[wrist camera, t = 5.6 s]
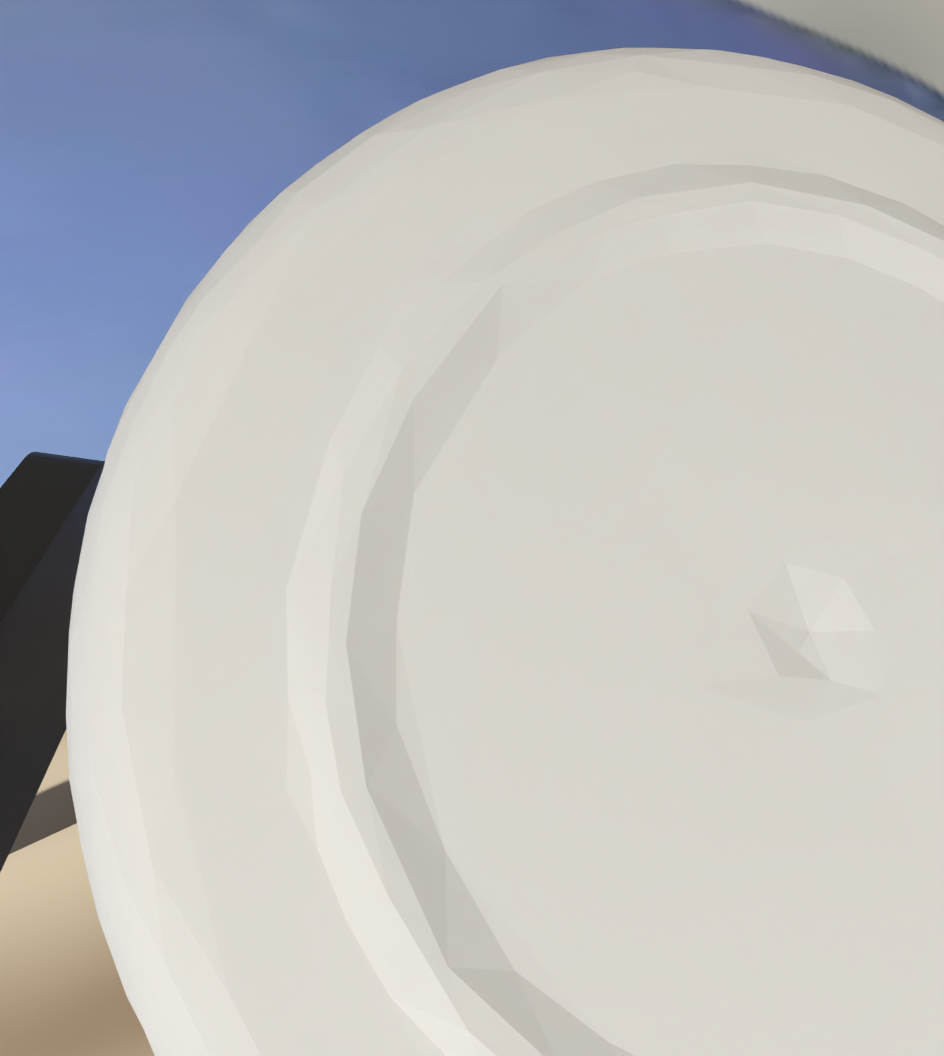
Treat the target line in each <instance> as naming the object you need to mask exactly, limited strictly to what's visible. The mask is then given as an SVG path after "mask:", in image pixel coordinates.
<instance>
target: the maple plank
mask: <svg viewBox="0 0 944 1056" xmlns="http://www.w3.org/2000/svg"><path fill="white" fill-rule="evenodd" d="M0 1056H155V1055H154V1053H153V1051H152V1048H151V1046H150V1044H149V1041H148V1039H147V1036H146V1034H145V1032H144V1029H143V1027H142V1025H141V1023H140V1021H139V1019H138V1017H137V1016H136V1014H135V1012H134V1010H133V1008H132V1006H131V1004H130V1002H129V1000H128V998H127V996H126V993H125V991H124V988H123V985H122V982H121V979H120V977H119V974H118V971H117V968H116V966H115V963H114V960H113V957H112V955H111V952H110V949H109V946H108V944H107V941H106V938H105V935H104V933H103V930H102V927H101V924H100V922H99V919H98V915H97V911H96V907H95V903H94V899H93V894H92V890H91V886H90V882H89V878H88V873H87V869H86V865H85V861H84V857H83V852H82V848H81V843H80V837H79V831H78V826H77V820H76V815H75V809H74V803H73V798H72V792H71V787H70V781H69V769H68V748H67V730H66V731H65V733H64V735H63V737H62V739H61V741H60V744H59V746H58V748H57V750H56V752H55V755H54V757H53V759H52V761H51V763H50V765H49V768H48V770H47V772H46V774H45V776H44V778H43V781H42V783H41V785H40V787H39V789H38V792H37V794H36V796H35V798H34V800H33V802H32V805H31V807H30V809H29V811H28V813H27V816H26V818H25V820H24V822H23V824H22V826H21V829H20V831H19V833H18V835H17V837H16V840H15V842H14V844H13V846H12V848H11V850H10V853H9V855H8V857H7V859H6V861H5V864H4V866H3V868H2V870H1V872H0Z"/></svg>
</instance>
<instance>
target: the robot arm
mask: <svg viewBox="0 0 944 1056" xmlns="http://www.w3.org/2000/svg"><path fill="white" fill-rule="evenodd" d="M104 464H105V461H98V460H91V459H84V458H76V457H69V456H62V455H55V454H47V453H40V452H32V453H30V454H29V455H27V456H26V457H25V458H24V459H23V461H22V462H21V463H20V464H19V466H18V467H17V468H16V469H15V471H14V472H13V473H12V474H11V476H10V477H9V478H8V479H7V481H6V482H5V483H4V484H3V486H2V487H1V488H0V872H1V870H2V868H3V866H4V864H5V861H6V859H7V857H8V855H9V853H10V850H11V848H12V846H13V844H14V842H15V840H16V837H17V835H18V833H19V831H20V829H21V826H22V824H23V822H24V820H25V818H26V816H27V813H28V811H29V809H30V807H31V805H32V802H33V800H34V798H35V796H36V794H37V792H38V789H39V787H40V785H41V783H42V781H43V778H44V776H45V774H46V772H47V770H48V768H49V765H50V763H51V761H52V759H53V757H54V755H55V752H56V750H57V748H58V746H59V744H60V741H61V739H62V737H63V735H64V733H65V731H66V697H67V670H68V644H69V627H70V618H71V609H72V600H73V590H74V585H75V579H76V574H77V569H78V564H79V558H80V553H81V548H82V543H83V537H84V532H85V527H86V522H87V516H88V512H89V509H90V506H91V504H92V501H93V498H94V495H95V492H96V489H97V486H98V483H99V480H100V477H101V474H102V471H103V468H104Z"/></svg>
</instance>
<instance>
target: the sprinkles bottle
mask: <svg viewBox="0 0 944 1056" xmlns="http://www.w3.org/2000/svg"><path fill="white" fill-rule="evenodd" d="M66 728H67V748H68V769H69V781H70V787H71V792H72V798H73V803H74V809H75V815H76V820H77V826H78V831H79V837H80V843H81V848H82V852H83V857H84V861H85V865H86V869H87V873H88V878H89V882H90V886H91V890H92V894H93V899H94V903H95V907H96V911H97V915H98V919H99V922H100V924H101V927H102V930H103V933H104V935H105V938H106V941H107V944H108V946H109V949H110V952H111V955H112V957H113V960H114V963H115V966H116V968H117V971H118V974H119V977H120V979H121V982H122V985H123V988H124V991H125V993H126V996H127V998H128V1000H129V1002H130V1004H131V1006H132V1008H133V1010H134V1012H135V1014H136V1016H137V1017H138V1019H139V1021H140V1023H141V1025H142V1027H143V1029H144V1032H145V1034H146V1036H147V1039H148V1041H149V1044H150V1046H151V1048H152V1051H153V1053H154V1055H155V1056H944V122H943V121H941V120H939V119H937V118H935V117H933V116H931V115H929V114H927V113H925V112H923V111H921V110H919V109H917V108H915V107H913V106H911V105H909V104H907V103H905V102H903V101H901V100H900V99H898V98H896V97H893V96H891V95H888V94H886V93H883V92H880V91H878V90H875V89H873V88H870V87H868V86H865V85H863V84H860V83H858V82H855V81H852V80H849V79H845V78H842V77H839V76H835V75H832V74H828V73H825V72H821V71H818V70H814V69H811V68H807V67H804V66H800V65H795V64H791V63H787V62H782V61H778V60H773V59H769V58H765V57H759V56H753V55H746V54H740V53H734V52H728V51H722V50H705V49H678V48H617V49H608V50H599V51H592V52H584V53H577V54H570V55H562V56H555V57H548V58H544V59H540V60H536V61H532V62H528V63H524V64H520V65H516V66H512V67H508V68H504V69H500V70H497V71H495V72H492V73H489V74H486V75H483V76H480V77H478V78H475V79H472V80H469V81H467V82H464V83H461V84H459V85H456V86H453V87H451V88H448V89H445V90H443V91H440V92H438V93H436V94H433V95H431V96H428V97H426V98H424V99H421V100H419V101H417V102H415V103H413V104H411V105H409V106H407V107H405V108H404V109H402V110H400V111H398V112H396V113H394V114H392V115H390V116H389V117H387V118H385V119H384V120H382V121H380V122H379V123H377V124H375V125H374V126H372V127H370V128H369V129H367V130H365V131H364V132H362V133H360V134H359V135H358V136H356V137H355V138H353V139H352V140H350V141H349V142H348V143H346V144H345V145H343V146H342V147H340V148H339V149H337V150H336V151H335V152H333V153H332V154H330V155H329V156H327V157H326V158H324V159H323V160H322V161H320V162H319V163H317V164H316V165H314V166H313V167H312V168H311V169H309V170H308V171H307V172H306V173H304V174H303V175H302V176H301V177H299V178H298V179H297V180H296V181H295V182H293V183H292V184H291V185H290V186H288V187H287V188H286V189H285V190H283V191H282V192H281V193H280V194H279V195H278V196H277V197H276V198H275V199H274V200H273V201H272V202H270V203H269V204H268V205H267V206H266V207H265V208H264V209H263V210H262V211H261V212H260V213H259V214H258V215H257V216H256V217H255V218H254V219H253V220H252V221H251V222H250V223H249V224H248V225H247V226H246V227H245V228H244V230H243V231H242V232H241V233H240V234H239V235H238V236H237V238H236V239H235V240H234V241H233V242H232V243H231V245H230V246H229V247H228V248H227V249H226V250H225V252H224V253H223V254H222V255H221V257H220V258H219V259H218V260H217V262H216V263H215V264H214V265H213V267H212V268H211V269H210V270H209V272H208V273H207V274H206V275H205V277H204V278H203V279H202V280H201V282H200V283H199V284H198V285H197V287H196V288H195V289H194V290H193V292H192V293H191V294H190V295H189V297H188V298H187V300H186V301H185V303H184V305H183V307H182V308H181V310H180V312H179V313H178V315H177V317H176V319H175V320H174V322H173V324H172V326H171V327H170V329H169V331H168V333H167V334H166V336H165V338H164V339H163V341H162V343H161V345H160V346H159V348H158V350H157V352H156V353H155V355H154V357H153V358H152V360H151V362H150V364H149V365H148V367H147V369H146V371H145V372H144V374H143V376H142V378H141V379H140V381H139V383H138V384H137V386H136V388H135V390H134V391H133V393H132V395H131V397H130V398H129V400H128V402H127V404H126V406H125V409H124V411H123V414H122V416H121V419H120V421H119V424H118V427H117V429H116V432H115V434H114V437H113V439H112V442H111V444H110V447H109V450H108V452H107V455H106V460H105V464H104V468H103V471H102V474H101V477H100V480H99V483H98V486H97V489H96V492H95V495H94V498H93V501H92V504H91V506H90V509H89V512H88V516H87V522H86V527H85V532H84V537H83V543H82V548H81V553H80V558H79V564H78V569H77V574H76V579H75V585H74V590H73V600H72V609H71V618H70V627H69V644H68V670H67V697H66Z"/></svg>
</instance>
